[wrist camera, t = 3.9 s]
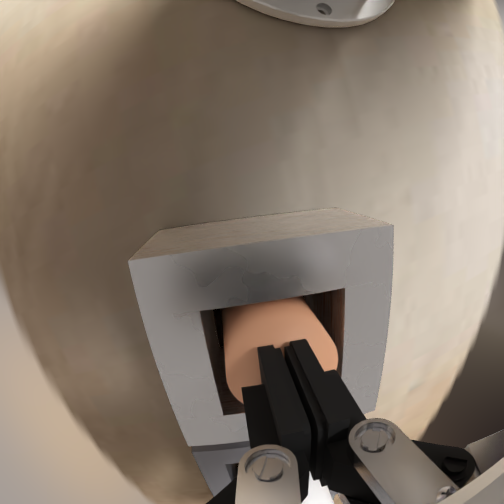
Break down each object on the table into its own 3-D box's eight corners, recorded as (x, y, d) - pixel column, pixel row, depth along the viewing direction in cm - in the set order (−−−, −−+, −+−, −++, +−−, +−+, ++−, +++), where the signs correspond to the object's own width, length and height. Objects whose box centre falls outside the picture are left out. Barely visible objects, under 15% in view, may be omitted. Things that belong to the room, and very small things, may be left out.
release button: (216, 279, 14) (216, 333, 9) (299, 267, 14) (339, 312, 9) (228, 350, 15) (234, 418, 10) (303, 338, 15) (335, 398, 10)
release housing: (159, 230, 14) (127, 260, 9) (335, 207, 15) (393, 224, 9) (192, 377, 16) (188, 446, 11) (337, 353, 17) (374, 410, 12)
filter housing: (193, 406, 17) (191, 452, 13) (342, 380, 18) (365, 419, 14) (220, 478, 20) (223, 514, 16) (333, 458, 20) (347, 490, 17)
